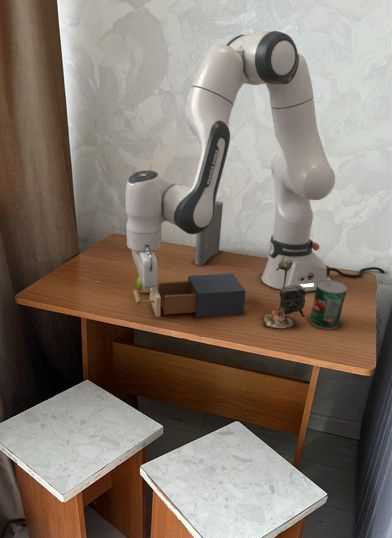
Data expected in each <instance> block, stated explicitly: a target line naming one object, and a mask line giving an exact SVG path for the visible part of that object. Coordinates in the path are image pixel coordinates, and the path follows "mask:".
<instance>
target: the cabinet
mask: <svg viewBox="0 0 392 538" xmlns="http://www.w3.org/2000/svg"><path fill="white" fill-rule="evenodd" d="M187 281H190V282H191V284H192V286H193V288H194V290H195V292H196V293H197V304H196V312H193V314H194V316H195V318H196V319H198V318H199V319H200V318H215V317H227V316H241V315H244V307H245V300H246V299H245V298H246V288H244V286H243V284H241V282H240V281H239V279H238V278H237V276H236V275H235V273H217V274H195V275H194V274H193V275H187Z"/></svg>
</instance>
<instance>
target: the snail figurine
mask: <svg viewBox="0 0 392 538" xmlns="http://www.w3.org/2000/svg"><path fill="white" fill-rule="evenodd" d="M136 287H137V289H139V291H143V290H142V287H141V280H140V276H139V275H138V277H137V279H136ZM149 290H150V288H149Z"/></svg>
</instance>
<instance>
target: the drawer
mask: <svg viewBox="0 0 392 538" xmlns="http://www.w3.org/2000/svg"><path fill="white" fill-rule="evenodd" d="M157 287H158V288H157ZM157 287H154V288H150V290H148V291H141V290H138V288H137V289H136V288H135V289H133V291H132V292H133V297H134V299H135V303H136V305H137V306H141V305H142V304H151V307H152V309H153V312H154V316H155V317H156V318H159V317H161V309H162V312H163V314H164V315H175V314H188V313H189V314H190V313H194V312H196V304H197V293H196V292H195V290H194V288H193V286H192V284H191V282H190V281H188V280H177V281H176V280H175V281H160V282H159V281H158V286H157ZM141 294H149V299H146V300H145V299H144V300H142V298H141V296H140V295H141Z"/></svg>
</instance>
